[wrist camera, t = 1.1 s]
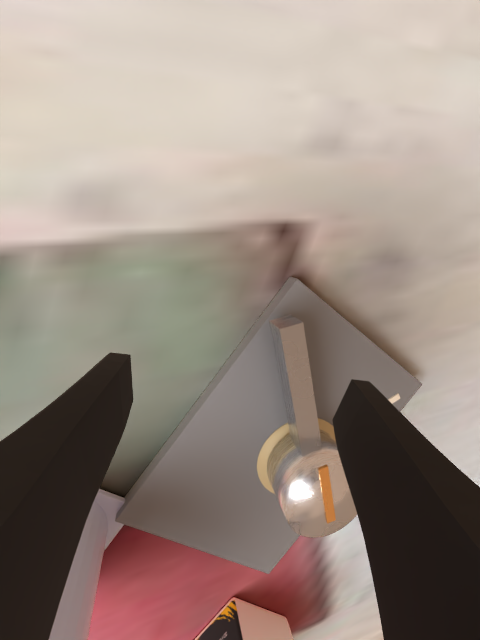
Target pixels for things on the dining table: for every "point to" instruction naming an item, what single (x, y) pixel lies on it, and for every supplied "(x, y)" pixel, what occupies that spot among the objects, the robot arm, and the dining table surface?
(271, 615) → the medicine bottle
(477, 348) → the dining table surface
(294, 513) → the tan piece
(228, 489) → the board
